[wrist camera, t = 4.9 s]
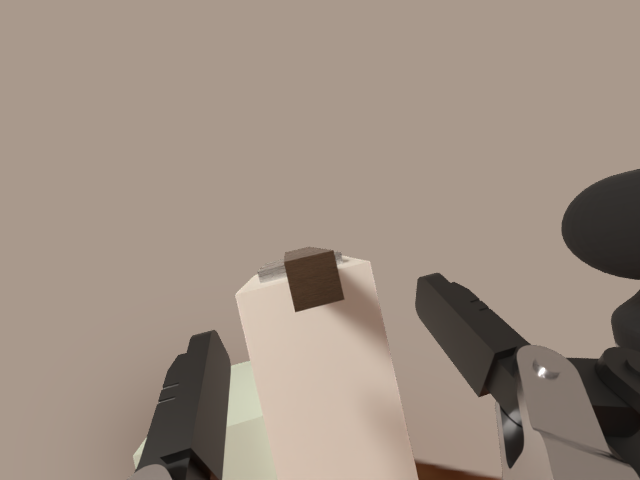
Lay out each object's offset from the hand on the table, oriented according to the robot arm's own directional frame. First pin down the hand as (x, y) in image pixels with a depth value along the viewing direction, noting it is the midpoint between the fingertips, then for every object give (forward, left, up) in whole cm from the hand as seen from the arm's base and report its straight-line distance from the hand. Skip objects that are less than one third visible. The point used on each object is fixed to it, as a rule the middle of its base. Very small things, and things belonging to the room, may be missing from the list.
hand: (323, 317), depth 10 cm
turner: (0, -11, 0) cm, 11 cm away
